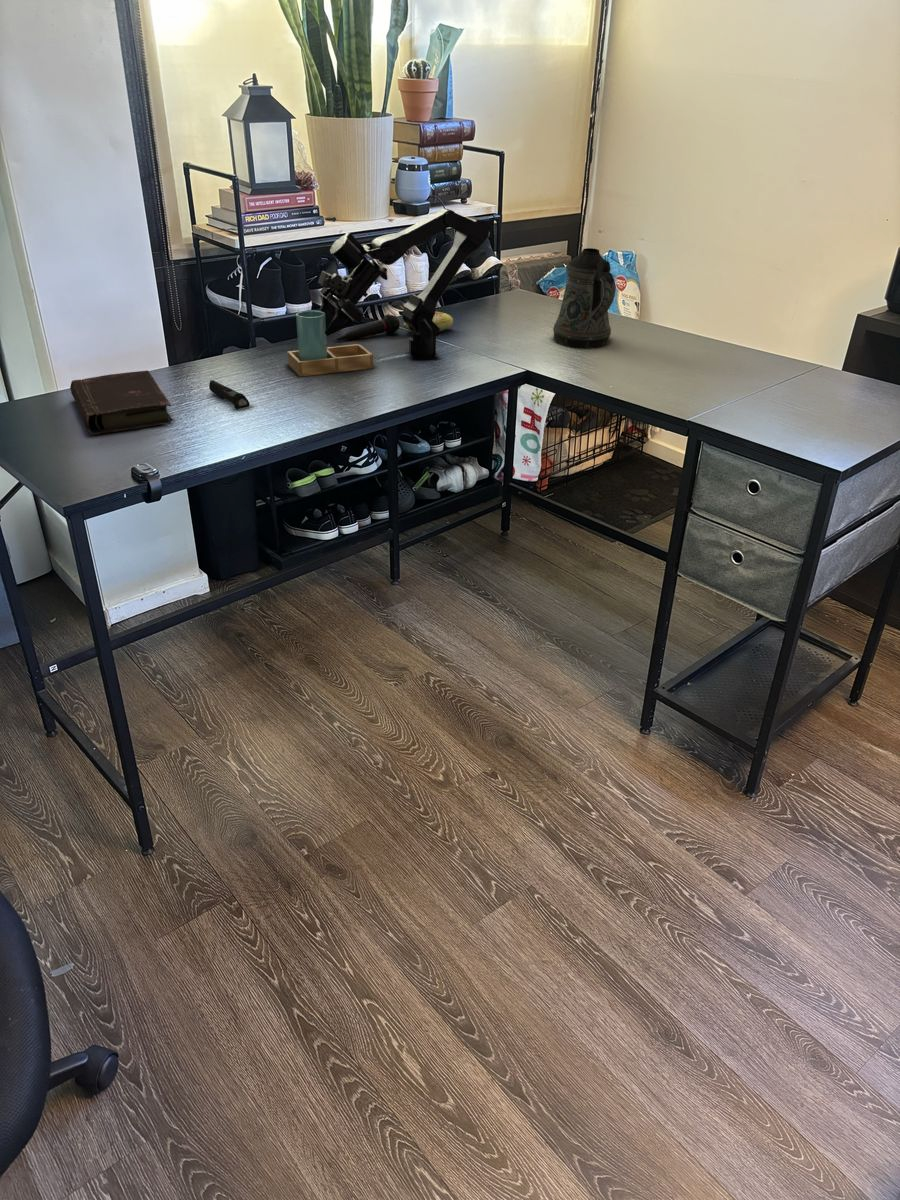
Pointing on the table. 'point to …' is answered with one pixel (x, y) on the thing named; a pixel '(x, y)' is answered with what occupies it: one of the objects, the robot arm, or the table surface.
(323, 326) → the tumbler
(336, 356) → the divided wooden tray
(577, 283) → the beer stein
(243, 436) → the table surface
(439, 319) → the plant cell model
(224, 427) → the table surface
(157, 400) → the diary
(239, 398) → the electric trimmer
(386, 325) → the microphone
